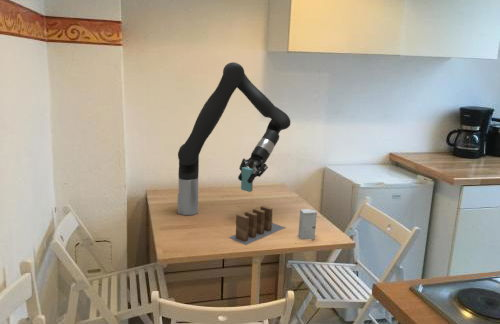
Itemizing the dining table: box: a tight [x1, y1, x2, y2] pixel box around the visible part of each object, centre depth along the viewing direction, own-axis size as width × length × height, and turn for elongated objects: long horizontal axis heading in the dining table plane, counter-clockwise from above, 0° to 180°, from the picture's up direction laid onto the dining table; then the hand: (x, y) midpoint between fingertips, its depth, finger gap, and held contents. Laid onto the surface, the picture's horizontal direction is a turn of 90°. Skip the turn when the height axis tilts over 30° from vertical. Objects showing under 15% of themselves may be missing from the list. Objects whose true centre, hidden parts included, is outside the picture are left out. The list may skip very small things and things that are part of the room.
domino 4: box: [252, 207, 265, 235], centre depth 179 cm, size 2×5×10 cm, turn 48°
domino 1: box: [240, 167, 254, 193], centre depth 187 cm, size 2×5×10 cm, turn 48°
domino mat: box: [228, 222, 286, 246], centre depth 180 cm, size 26×10×1 cm, turn 138°
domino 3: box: [235, 213, 249, 242], centre depth 172 cm, size 2×5×10 cm, turn 48°
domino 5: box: [259, 205, 273, 232], centre depth 183 cm, size 2×5×10 cm, turn 48°
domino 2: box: [244, 210, 257, 238], centre depth 175 cm, size 2×5×10 cm, turn 48°
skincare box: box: [297, 208, 318, 241], centre depth 176 cm, size 6×4×12 cm
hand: (244, 180), depth 185 cm, fingers closed on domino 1, 5 cm apart
